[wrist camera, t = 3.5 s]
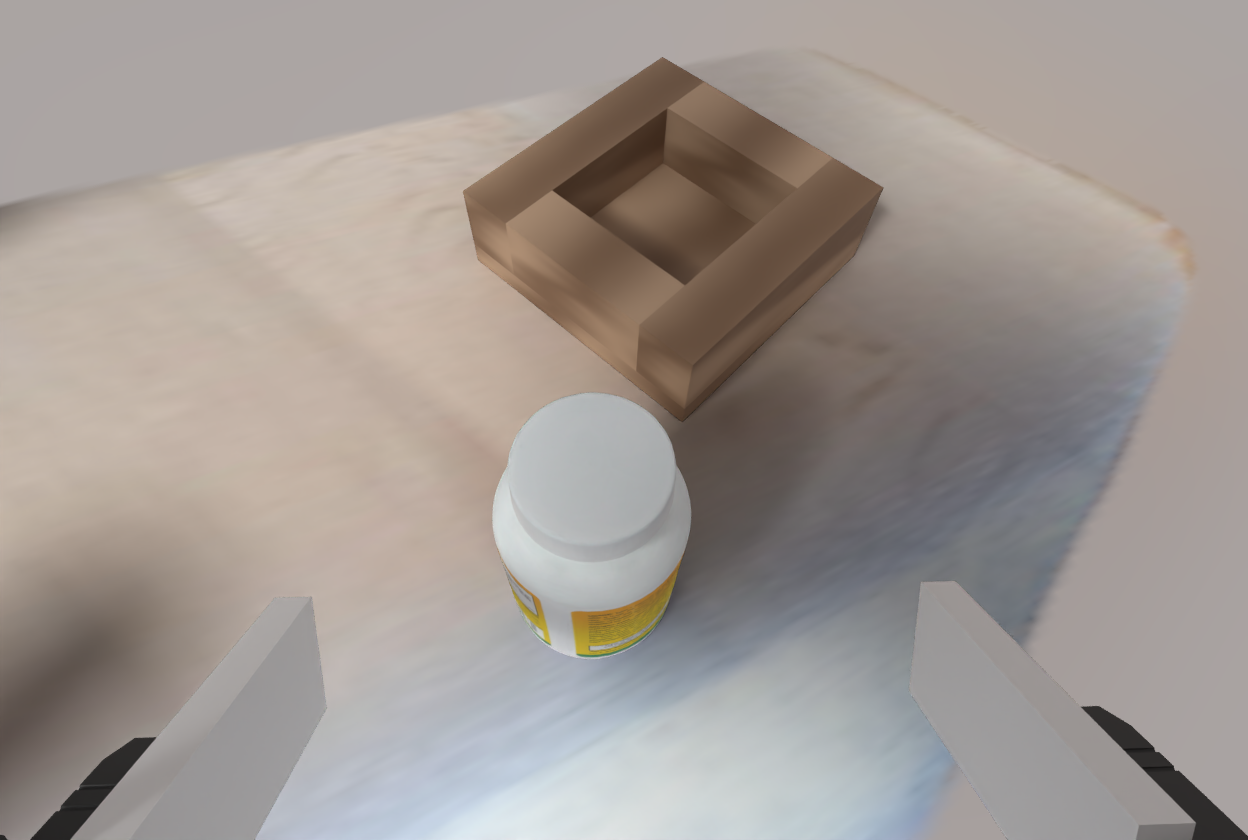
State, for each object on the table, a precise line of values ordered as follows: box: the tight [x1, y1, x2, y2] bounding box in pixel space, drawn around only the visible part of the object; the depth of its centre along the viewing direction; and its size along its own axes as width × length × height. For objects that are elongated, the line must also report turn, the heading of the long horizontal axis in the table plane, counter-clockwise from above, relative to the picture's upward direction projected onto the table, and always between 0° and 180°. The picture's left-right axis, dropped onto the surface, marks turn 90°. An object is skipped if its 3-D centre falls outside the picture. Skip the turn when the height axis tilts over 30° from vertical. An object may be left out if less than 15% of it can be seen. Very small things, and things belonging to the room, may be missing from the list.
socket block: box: [463, 57, 883, 422], centre depth 31 cm, size 12×12×4 cm
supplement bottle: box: [492, 393, 691, 659], centre depth 21 cm, size 5×5×10 cm
